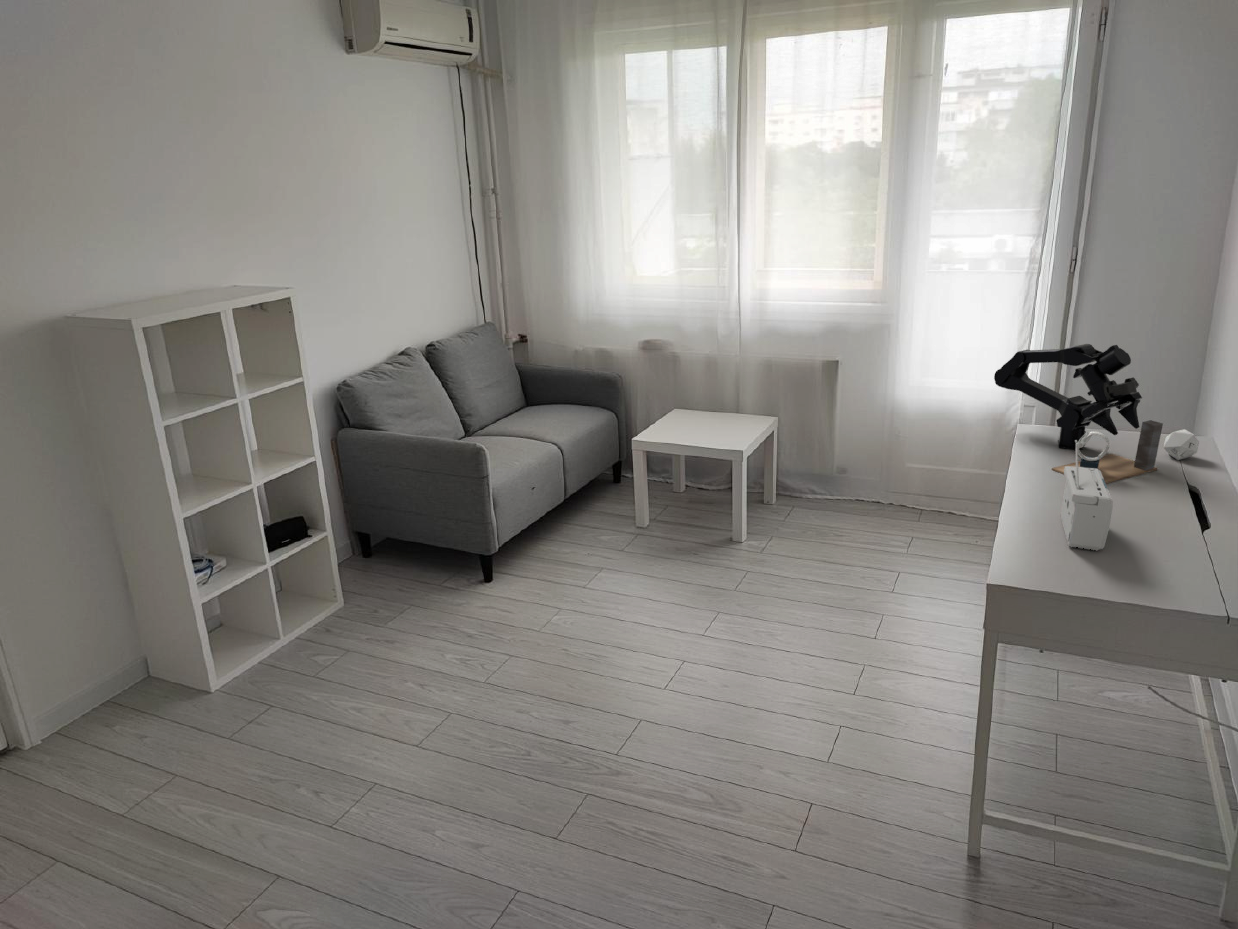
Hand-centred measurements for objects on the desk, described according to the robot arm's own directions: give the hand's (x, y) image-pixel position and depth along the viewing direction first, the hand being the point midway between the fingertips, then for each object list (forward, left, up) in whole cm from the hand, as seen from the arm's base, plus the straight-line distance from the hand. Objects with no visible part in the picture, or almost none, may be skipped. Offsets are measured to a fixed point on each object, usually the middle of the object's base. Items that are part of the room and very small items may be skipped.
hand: (1127, 431), depth 250 cm
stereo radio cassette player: (-14, -58, -9) cm, 61 cm away
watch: (-9, -13, -9) cm, 18 cm away
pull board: (-5, -9, -9) cm, 14 cm away
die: (+15, +10, -9) cm, 20 cm away
